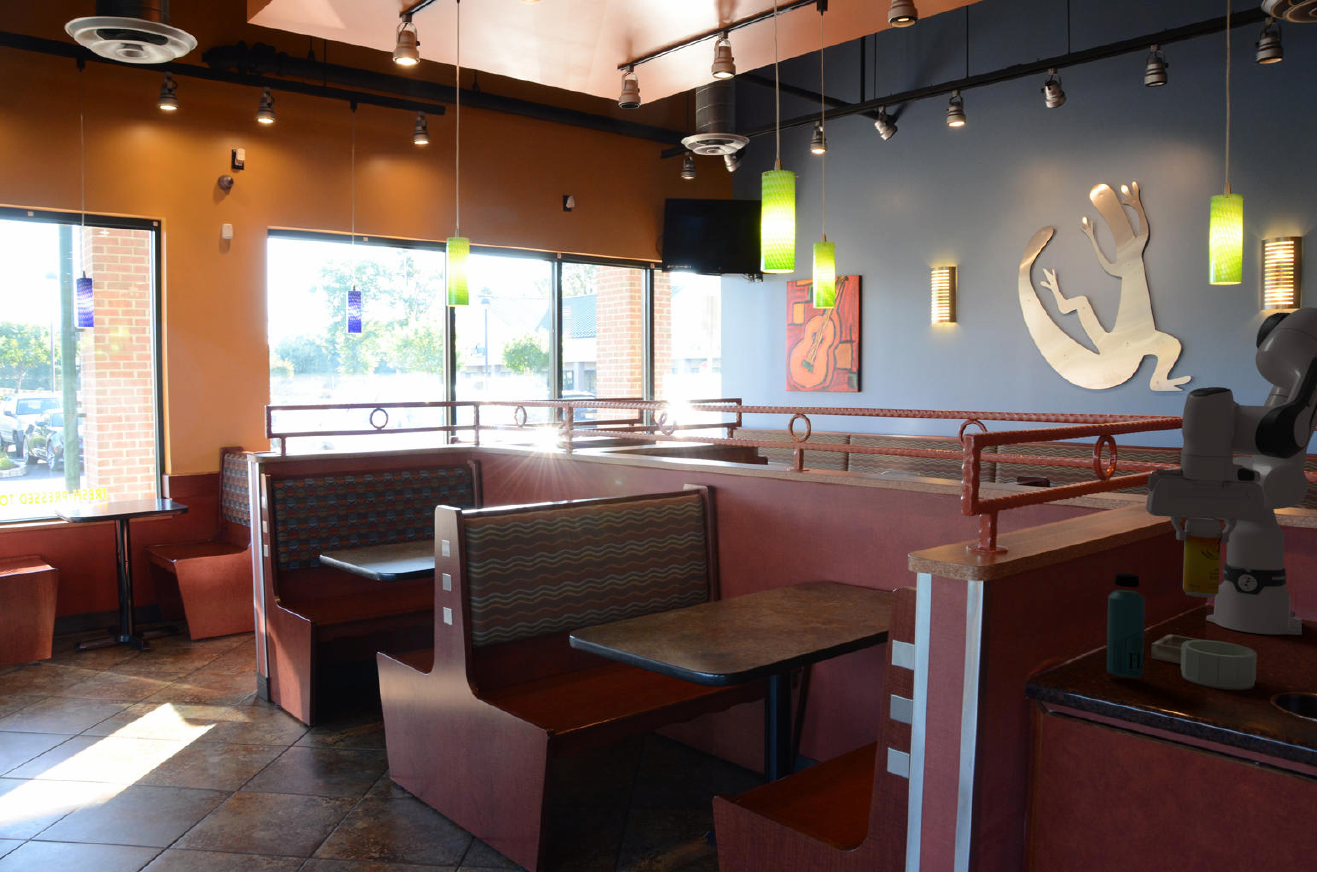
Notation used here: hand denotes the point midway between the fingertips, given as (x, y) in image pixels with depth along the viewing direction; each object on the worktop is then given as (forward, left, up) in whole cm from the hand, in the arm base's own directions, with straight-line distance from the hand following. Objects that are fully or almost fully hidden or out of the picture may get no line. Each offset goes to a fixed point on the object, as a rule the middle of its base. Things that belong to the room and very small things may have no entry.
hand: (1202, 540), depth 182 cm
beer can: (0, 0, -11) cm, 11 cm away
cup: (+8, +6, -25) cm, 27 cm away
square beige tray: (-4, -2, -25) cm, 25 cm away
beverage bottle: (+21, -6, -25) cm, 33 cm away
